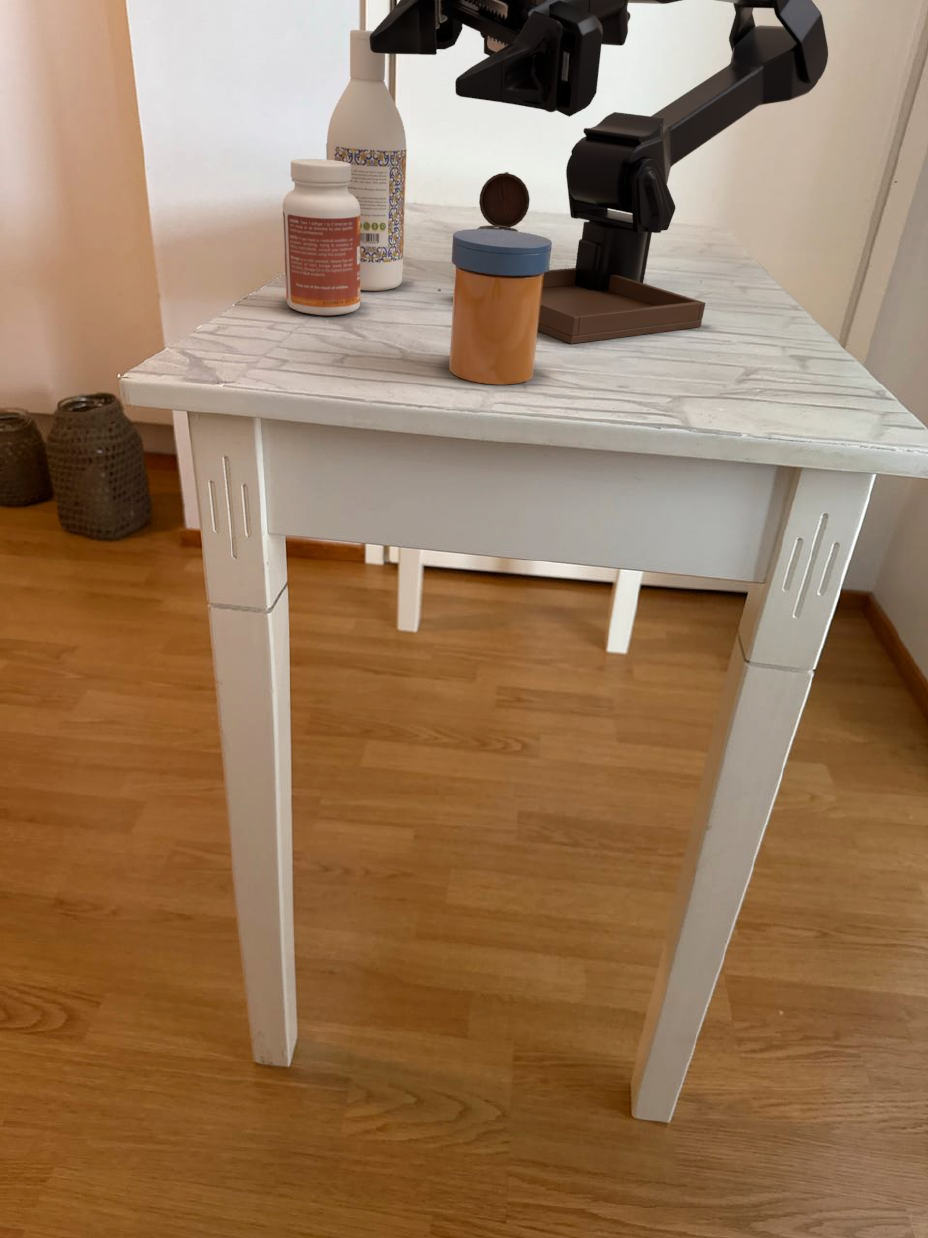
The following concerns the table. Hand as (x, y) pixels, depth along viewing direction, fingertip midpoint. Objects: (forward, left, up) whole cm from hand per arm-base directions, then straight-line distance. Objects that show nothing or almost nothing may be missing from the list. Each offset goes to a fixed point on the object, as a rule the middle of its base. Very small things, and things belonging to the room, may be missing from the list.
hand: (412, 65), depth 64 cm
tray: (-17, +3, -18) cm, 25 cm away
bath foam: (-4, -13, -18) cm, 23 cm away
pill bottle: (+4, -6, -18) cm, 20 cm away
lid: (+1, +14, -10) cm, 17 cm away
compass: (-32, -28, -18) cm, 46 cm away
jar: (+1, +14, -18) cm, 23 cm away
